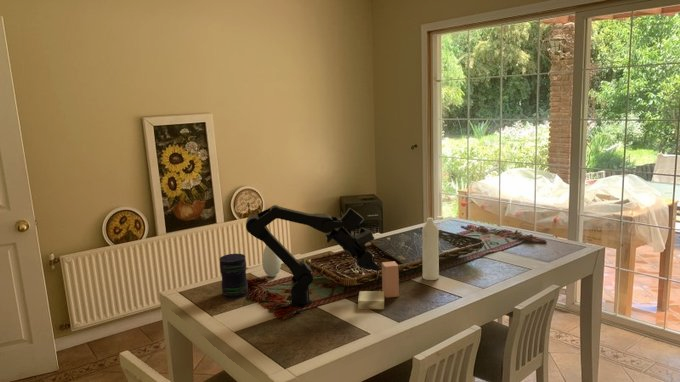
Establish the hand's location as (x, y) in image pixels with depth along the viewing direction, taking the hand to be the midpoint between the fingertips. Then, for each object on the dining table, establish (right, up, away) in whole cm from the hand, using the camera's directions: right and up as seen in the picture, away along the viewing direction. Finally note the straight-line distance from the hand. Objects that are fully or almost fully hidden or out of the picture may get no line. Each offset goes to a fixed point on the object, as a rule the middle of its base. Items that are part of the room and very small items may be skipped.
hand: (376, 266), depth 186 cm
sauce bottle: (-42, -9, +27) cm, 51 cm away
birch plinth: (-2, -13, -5) cm, 14 cm away
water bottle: (+25, -8, +19) cm, 32 cm away
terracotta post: (+6, -11, +3) cm, 13 cm away
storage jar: (-54, -13, +9) cm, 56 cm away
